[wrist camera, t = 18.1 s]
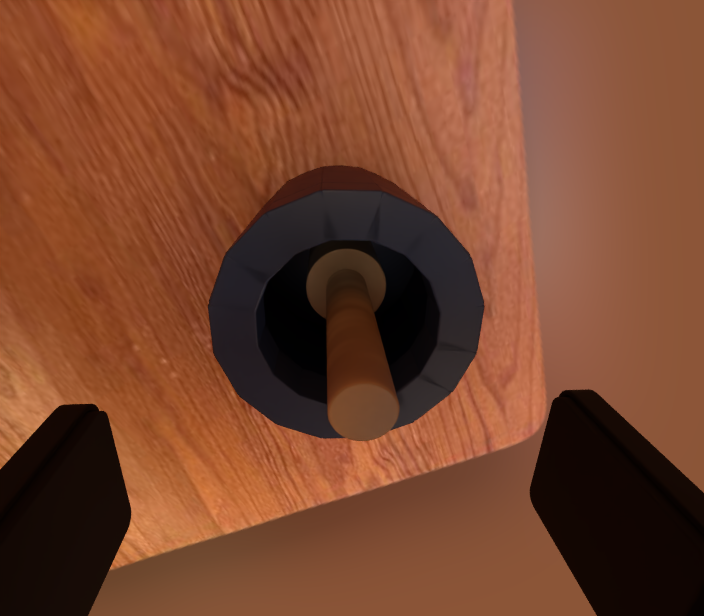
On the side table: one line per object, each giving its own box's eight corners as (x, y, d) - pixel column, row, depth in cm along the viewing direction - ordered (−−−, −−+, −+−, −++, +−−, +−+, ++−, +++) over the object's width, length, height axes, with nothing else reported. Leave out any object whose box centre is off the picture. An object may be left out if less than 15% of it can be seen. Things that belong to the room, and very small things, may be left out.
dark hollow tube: (259, 329, 25) (223, 441, 16) (248, 163, 22) (193, 187, 13) (415, 328, 26) (464, 436, 17) (430, 167, 22) (503, 192, 13)
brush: (309, 287, 24) (292, 471, 11) (309, 224, 22) (287, 349, 10) (372, 287, 24) (428, 467, 11) (375, 224, 23) (443, 348, 10)
